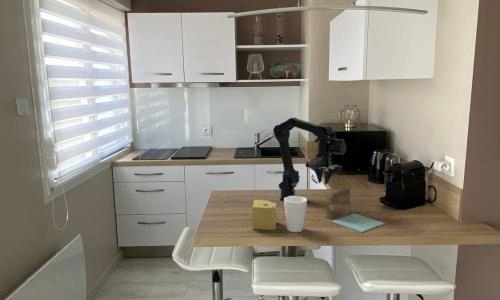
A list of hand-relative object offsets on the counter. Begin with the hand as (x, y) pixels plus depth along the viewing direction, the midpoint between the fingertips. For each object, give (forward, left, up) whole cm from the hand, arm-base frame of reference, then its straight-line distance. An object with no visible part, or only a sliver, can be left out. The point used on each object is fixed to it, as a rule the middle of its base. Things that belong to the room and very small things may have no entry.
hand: (322, 183), depth 191 cm
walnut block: (+10, -9, -12) cm, 18 cm away
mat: (+20, -14, -12) cm, 27 cm away
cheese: (-15, -35, -12) cm, 40 cm away
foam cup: (-2, -33, -12) cm, 35 cm away
